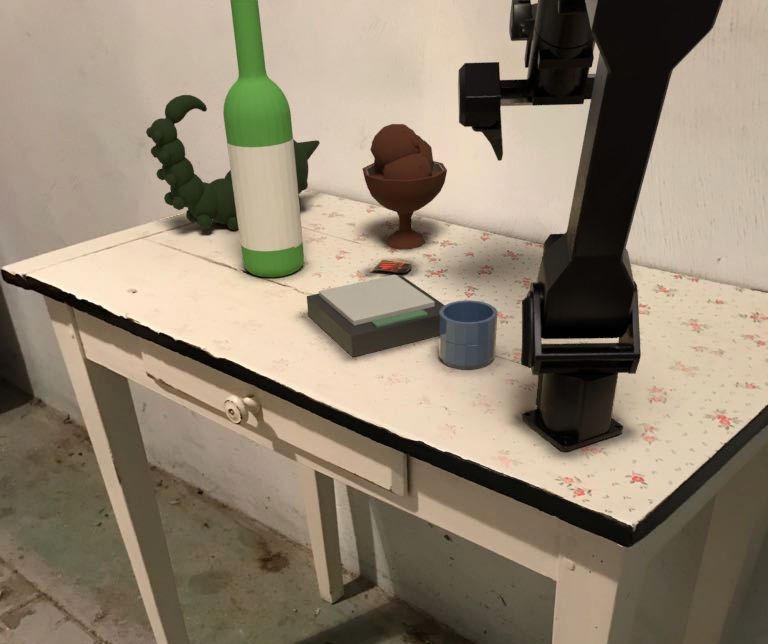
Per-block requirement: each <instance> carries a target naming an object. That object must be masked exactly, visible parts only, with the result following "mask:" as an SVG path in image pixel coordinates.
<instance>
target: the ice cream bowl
mask: <svg viewBox="0 0 768 644" xmlns="http://www.w3.org/2000/svg"><path fill="white" fill-rule="evenodd" d="M369 150H370V152H371V154H372V156H373V162H372V163H370V164H368V165H366V166H363V167H362V174H363V177H364V181H365V184H366V187H367V190H368V191H369V194H370V196H371V197H372V198H373V199H374V200H375V201H376V202H377V203H378V205H380V206H382V207H383V208H385V209H387V210H389V211H392V212H395V213H397V216H398V229H396V230H395V231H393V232H392V233H391V234H389V235H388V236H386V238H385V244H386V246H388V247H391V248H393V249H403V250H411V249H414V248H415V249H416V248H420V247H422V246H423V245H424V244H426V243H427V242H426V239H425V236H424V234H422V233H421V232H420V231H417V230H416V229H414V228H413V225H412V222H413V221H412V218H413V215H414V212H417V211H419V210H421V209H423V208H424V207H426V206H427V205H428V204H430V203H431V202H433V200H434V199H435V198H436V197H437V196H438V195H439V194H440V193H441V191H442V190H443V187H444V184H445V183H446V178H447V174H448V169H447V168H446V166H445V165H444V163H443V162H439V161H437V160H436V161H435V160H434V157H433V150H432V146H431V145H430V144H429V143H428V142H427V141H426V140H424V139H423V138H422V137H421V135H419V134H417V133H416V132H415V131H414V130H413V128H411V127H409V126H408V125H406V124H404V123H391V124H388V125H384V126H383V127H382V128H381V129H380V130H379V131H377V132H376V134H375V135H374V136H373V139H372V141H371V145H370V149H369Z"/></svg>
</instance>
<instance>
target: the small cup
mask: <svg viewBox="0 0 768 644" xmlns="http://www.w3.org/2000/svg"><path fill="white" fill-rule="evenodd" d="M444 305H445V306H443V307H442V308H441V309H440V311H439V336H438V354H439V358H440V359H441V361H442V362H443V363H444V365H446V366H448V367H450V368H453V369H457V370H469V371H470V370H477V369H482V368H484V367H486V366H488V365H489V364H491V362H492V360H493V359H494V357H495V355H496V345H497V328H498V327H497V326H498V310H497V308H496V307H495V306H493V305H492V304H490V303H487V302H485V301H480V300H470V299H469V300H456V301H452V302H448V303H447V304H444Z"/></svg>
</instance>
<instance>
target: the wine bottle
mask: <svg viewBox="0 0 768 644" xmlns="http://www.w3.org/2000/svg"><path fill="white" fill-rule="evenodd" d="M229 2H230V10H231V17H232V26H233V35H234V45H235V52H236V61H237V70H238V77H237V80H236V81H235V82H234V83H233V84H232V85H231V86H230V88H229V90H228V91H227V94H226V96H225V99H224V103H223V111H222V113H223V114H222V115H223V123H224V130H225V138H226V147H227V153H228V160H229V161H228V162H229V168H230V169H229V170H231V177H232V184H233V191H234V199H235V206H236V214H237V221H238V235H239V242H240V249H241V255H242V261H243V262H242V263H243V265H244V268H245V269H246V271H247V272H249V273H250V274H252V275H255V276H257V277H260V278H261V277H262V278H277V277H284V276H288V275H292V274H293V273H295V272H297V271H299V270H300V269H301V267H303V264H304V260H305V259H304V258H305V254H304V243H303V228H302V219H301V217H302V216H301V208H300V206H301V205H300V206H299V197H300V195H299V196H298V185H297V174H296V163H295V153H294V142H293V139H294V133H293V126H292V125H293V124H292V114H291V113H292V112H291V107H290V104H289V102H288V99H287V96H286V95H285V93H284V91H283V90H282V89H281V87H280V86H279V85H278V84H277V83H276V82H274V80H272V79H271V78H270V77H269V76H268V72H267V69H266V60H265V51H264V43H263V42H264V41H263V34H262V24H261V15H260V8H259V7H260V6H259V0H230V1H229Z"/></svg>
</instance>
